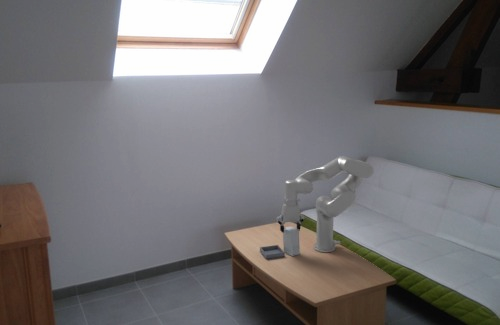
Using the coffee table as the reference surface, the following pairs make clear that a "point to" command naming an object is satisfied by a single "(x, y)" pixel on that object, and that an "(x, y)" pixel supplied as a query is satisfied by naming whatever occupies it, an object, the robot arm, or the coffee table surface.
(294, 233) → the skincare box
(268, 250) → the tray
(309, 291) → the coffee table surface
